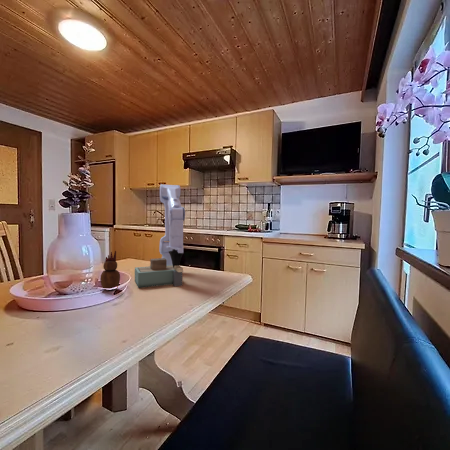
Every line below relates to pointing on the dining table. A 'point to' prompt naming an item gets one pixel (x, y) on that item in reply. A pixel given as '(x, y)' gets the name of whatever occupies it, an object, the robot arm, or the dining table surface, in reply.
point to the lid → (157, 265)
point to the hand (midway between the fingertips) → (175, 267)
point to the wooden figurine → (110, 273)
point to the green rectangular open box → (157, 278)
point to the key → (178, 268)
